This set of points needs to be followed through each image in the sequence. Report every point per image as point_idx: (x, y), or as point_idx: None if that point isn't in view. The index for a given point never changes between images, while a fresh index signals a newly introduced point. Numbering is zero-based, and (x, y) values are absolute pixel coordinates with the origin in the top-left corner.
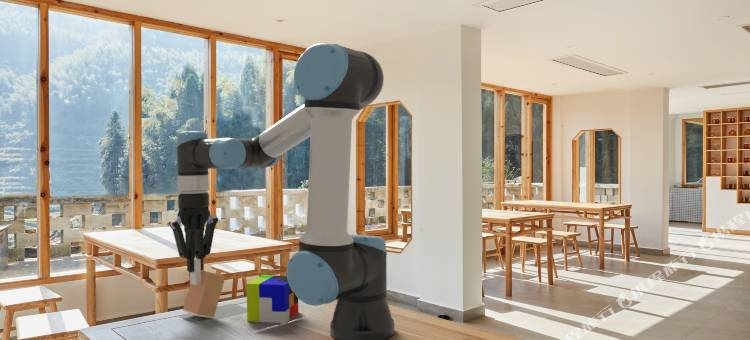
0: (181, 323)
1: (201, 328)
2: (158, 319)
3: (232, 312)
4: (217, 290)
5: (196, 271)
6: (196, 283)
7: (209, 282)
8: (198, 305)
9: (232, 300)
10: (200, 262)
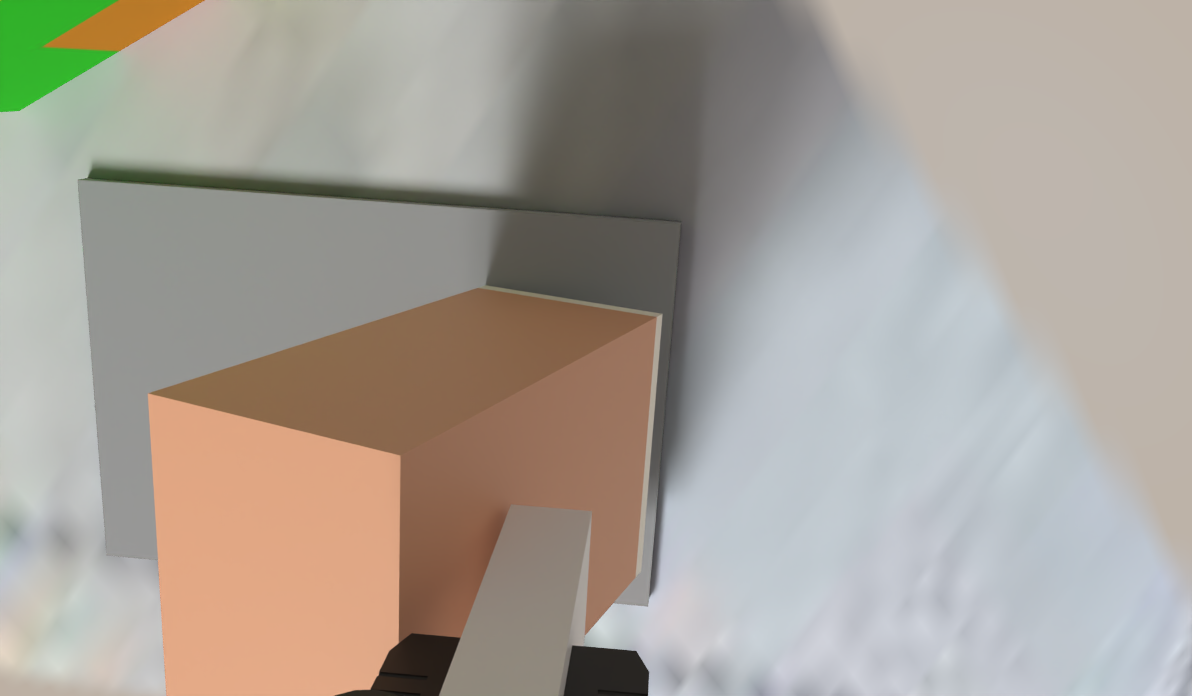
0: (729, 435)
1: (716, 150)
2: (774, 691)
3: (257, 300)
4: (356, 352)
5: (553, 610)
6: (578, 520)
7: (443, 399)
8: (622, 359)
9: (23, 657)
10: (443, 687)
